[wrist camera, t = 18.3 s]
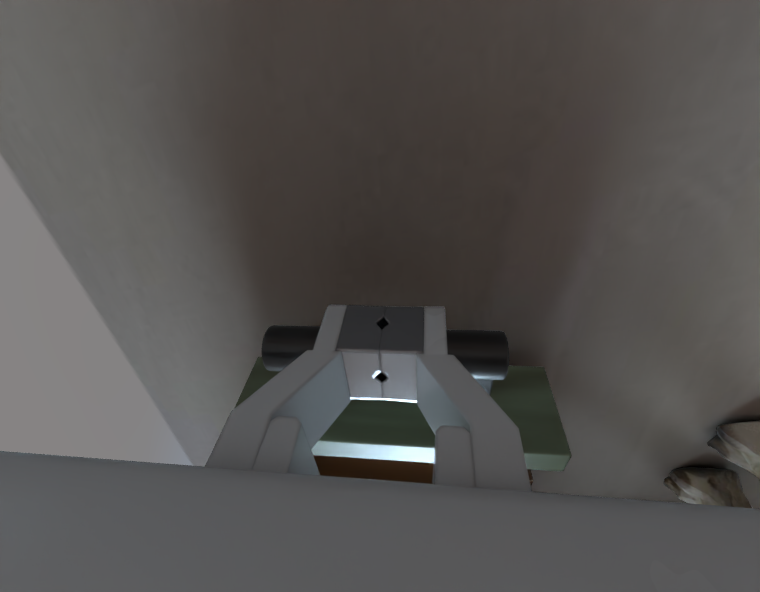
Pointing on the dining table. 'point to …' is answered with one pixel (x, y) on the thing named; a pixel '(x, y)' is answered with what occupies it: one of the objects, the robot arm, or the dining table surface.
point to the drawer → (405, 420)
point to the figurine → (718, 486)
